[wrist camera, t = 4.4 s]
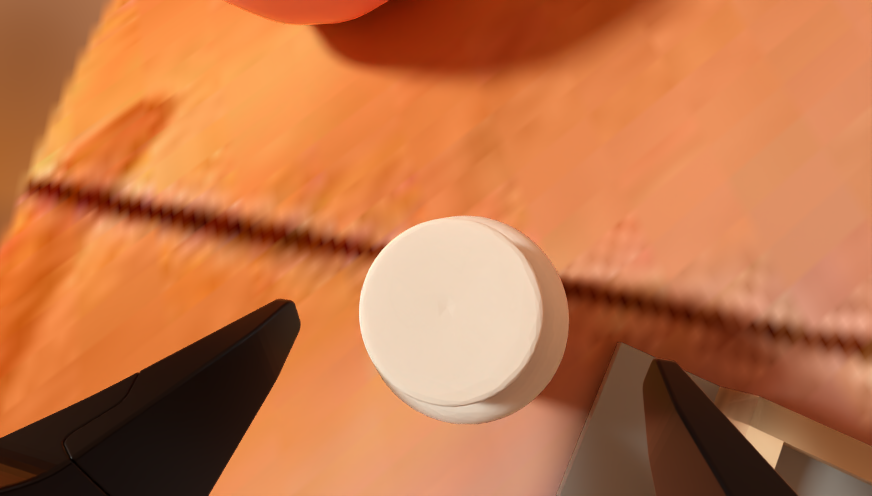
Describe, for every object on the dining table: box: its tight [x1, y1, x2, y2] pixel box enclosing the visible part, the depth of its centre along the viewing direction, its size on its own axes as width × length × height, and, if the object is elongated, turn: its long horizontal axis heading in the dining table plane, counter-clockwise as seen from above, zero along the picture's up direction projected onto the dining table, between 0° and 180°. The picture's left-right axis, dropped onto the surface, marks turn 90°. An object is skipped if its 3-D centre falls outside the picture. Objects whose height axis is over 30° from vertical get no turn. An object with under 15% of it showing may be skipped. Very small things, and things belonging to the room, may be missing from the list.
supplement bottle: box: [359, 216, 569, 424], centre depth 13 cm, size 6×6×10 cm
